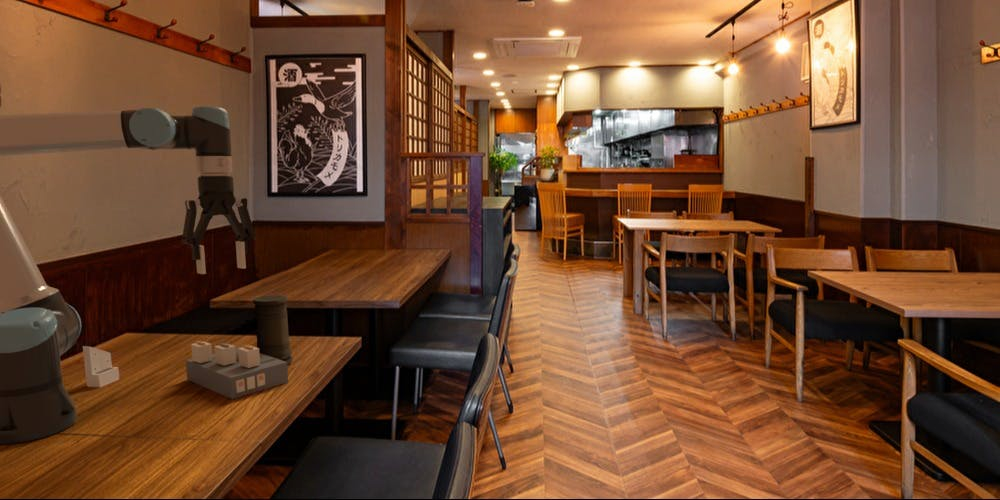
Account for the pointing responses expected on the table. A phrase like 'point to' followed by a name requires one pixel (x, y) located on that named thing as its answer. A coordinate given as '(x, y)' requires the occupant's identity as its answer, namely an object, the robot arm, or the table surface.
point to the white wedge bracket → (99, 367)
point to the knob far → (201, 352)
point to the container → (273, 327)
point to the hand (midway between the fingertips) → (222, 270)
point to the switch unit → (237, 375)
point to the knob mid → (225, 354)
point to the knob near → (249, 356)
